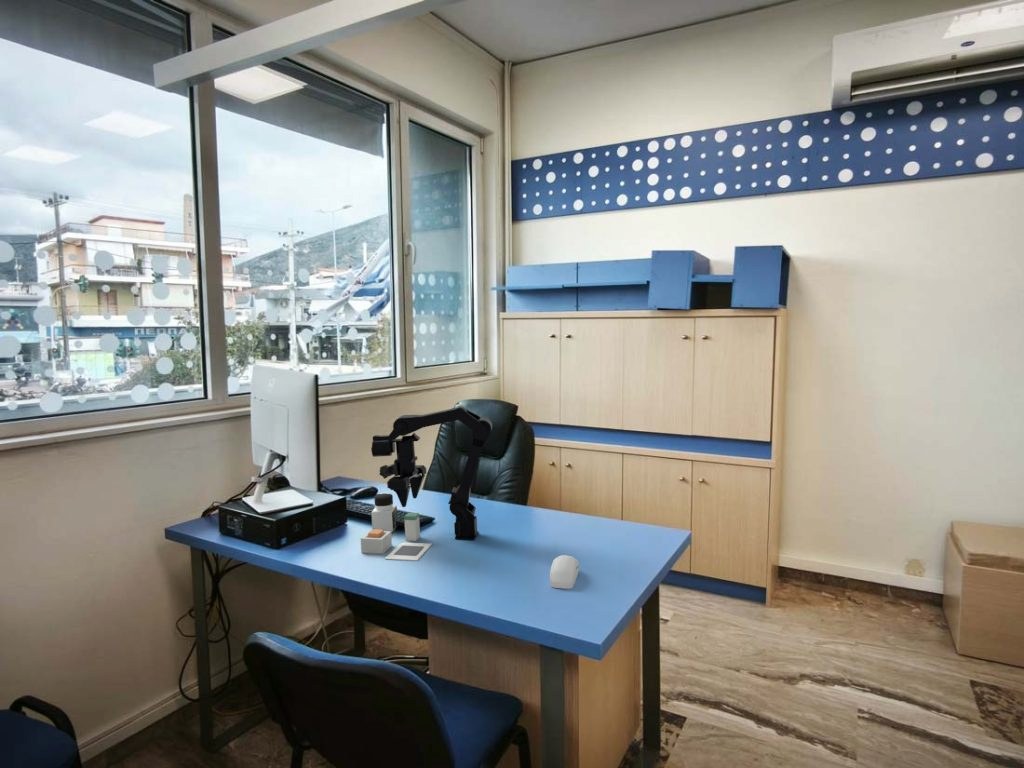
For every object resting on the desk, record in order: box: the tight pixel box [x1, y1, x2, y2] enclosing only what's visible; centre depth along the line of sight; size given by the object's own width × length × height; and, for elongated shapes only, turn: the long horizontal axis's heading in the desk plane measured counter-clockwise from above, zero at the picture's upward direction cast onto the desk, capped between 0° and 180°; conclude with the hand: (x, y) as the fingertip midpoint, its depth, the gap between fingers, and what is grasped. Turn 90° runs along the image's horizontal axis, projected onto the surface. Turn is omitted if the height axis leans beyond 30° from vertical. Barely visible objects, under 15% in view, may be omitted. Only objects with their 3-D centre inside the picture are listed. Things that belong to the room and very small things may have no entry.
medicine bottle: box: [371, 492, 398, 533], centre depth 207 cm, size 7×7×12 cm
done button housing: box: [360, 530, 393, 555], centre depth 189 cm, size 7×7×4 cm
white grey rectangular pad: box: [384, 542, 433, 562], centre depth 186 cm, size 10×13×1 cm
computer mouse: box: [549, 554, 580, 590], centre depth 163 cm, size 6×13×6 cm, turn 165°
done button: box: [367, 529, 384, 538], centre depth 189 cm, size 4×4×2 cm
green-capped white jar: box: [403, 512, 421, 542], centre depth 197 cm, size 4×4×8 cm
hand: (409, 502), depth 197 cm, fingers open, 9 cm apart
